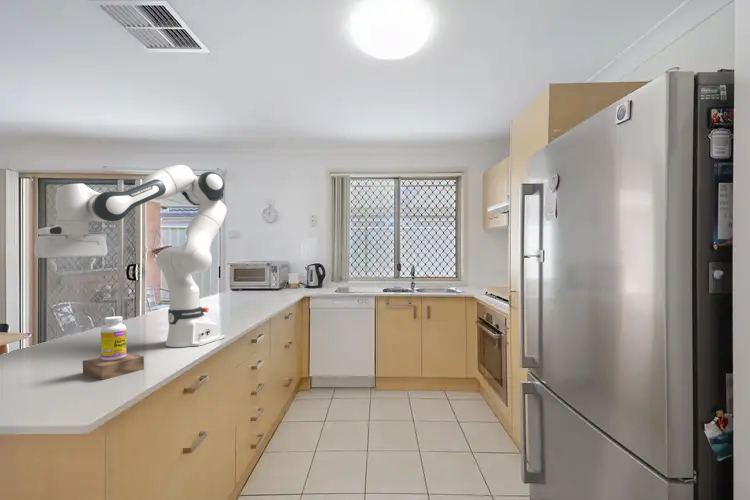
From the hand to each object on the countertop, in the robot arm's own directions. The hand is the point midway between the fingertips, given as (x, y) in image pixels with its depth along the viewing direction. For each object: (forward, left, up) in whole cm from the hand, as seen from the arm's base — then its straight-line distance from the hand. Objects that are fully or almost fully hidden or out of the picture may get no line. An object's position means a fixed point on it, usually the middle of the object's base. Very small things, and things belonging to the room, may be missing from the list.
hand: (73, 270), depth 135 cm
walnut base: (-1, +24, -31) cm, 39 cm away
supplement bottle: (-1, +24, -27) cm, 36 cm away
